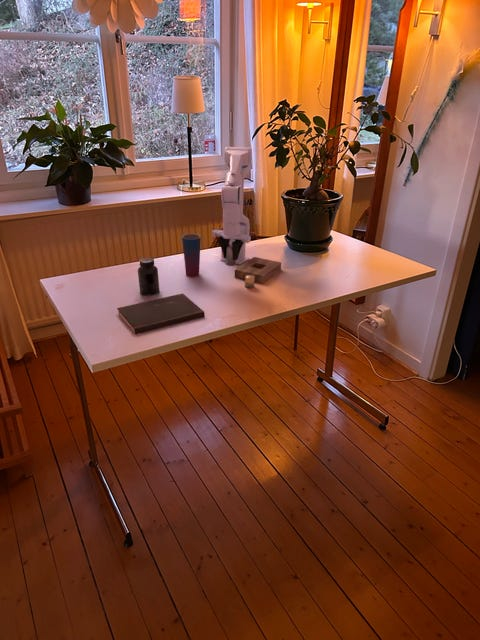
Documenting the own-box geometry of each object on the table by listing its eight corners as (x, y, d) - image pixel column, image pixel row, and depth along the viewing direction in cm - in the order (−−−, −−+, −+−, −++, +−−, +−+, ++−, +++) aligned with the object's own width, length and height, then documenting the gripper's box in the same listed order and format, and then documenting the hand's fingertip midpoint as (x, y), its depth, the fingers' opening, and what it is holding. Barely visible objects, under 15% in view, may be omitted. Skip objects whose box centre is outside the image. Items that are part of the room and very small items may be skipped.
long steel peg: (224, 264, 169) (224, 246, 165) (229, 261, 171) (229, 243, 168) (232, 266, 167) (232, 247, 164) (237, 263, 170) (237, 245, 166)
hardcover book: (117, 314, 150) (116, 308, 149) (183, 299, 161) (182, 293, 159) (135, 336, 138) (134, 329, 137) (204, 318, 149) (204, 311, 147)
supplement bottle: (152, 286, 168) (149, 254, 163) (163, 292, 164) (161, 259, 158) (135, 291, 164) (132, 259, 158) (147, 297, 160) (144, 264, 154)
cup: (180, 276, 177) (178, 237, 170) (188, 269, 183) (187, 232, 176) (196, 279, 175) (195, 240, 168) (204, 272, 180) (203, 235, 173)
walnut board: (234, 276, 177) (234, 269, 176) (253, 263, 190) (254, 256, 188) (263, 283, 172) (263, 276, 171) (280, 269, 185) (281, 262, 183)
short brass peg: (243, 287, 169) (243, 277, 167) (247, 284, 172) (247, 274, 170) (251, 289, 168) (251, 279, 166) (255, 286, 170) (256, 275, 168)
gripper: (207, 220, 162) (207, 258, 168) (244, 227, 156) (243, 265, 162) (217, 216, 167) (218, 252, 174) (253, 222, 161) (252, 259, 168)
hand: (230, 258), depth 168 cm, fingers closed on long steel peg, 3 cm apart
